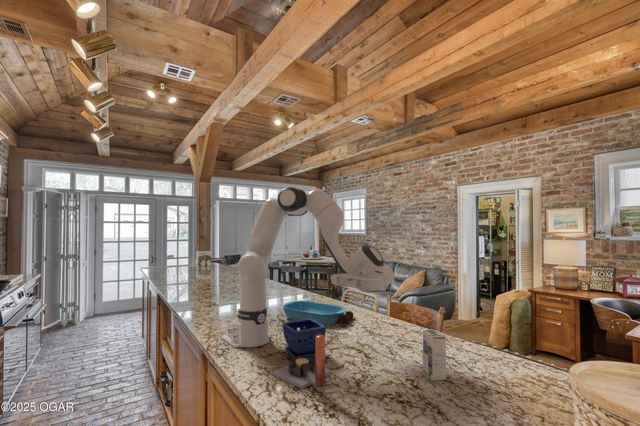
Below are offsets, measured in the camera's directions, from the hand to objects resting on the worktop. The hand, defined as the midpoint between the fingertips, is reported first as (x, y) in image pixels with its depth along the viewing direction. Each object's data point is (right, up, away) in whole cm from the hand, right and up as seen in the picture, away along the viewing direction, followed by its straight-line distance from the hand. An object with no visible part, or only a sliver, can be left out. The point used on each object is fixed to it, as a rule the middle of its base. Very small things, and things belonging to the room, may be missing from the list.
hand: (344, 283), depth 109 cm
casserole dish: (-12, -34, +64) cm, 74 cm away
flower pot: (-15, -31, +13) cm, 37 cm away
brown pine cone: (+7, -34, +61) cm, 70 cm away
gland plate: (-14, -30, -3) cm, 33 cm away
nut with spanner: (-12, -28, -8) cm, 32 cm away
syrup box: (+30, -30, -4) cm, 42 cm away
